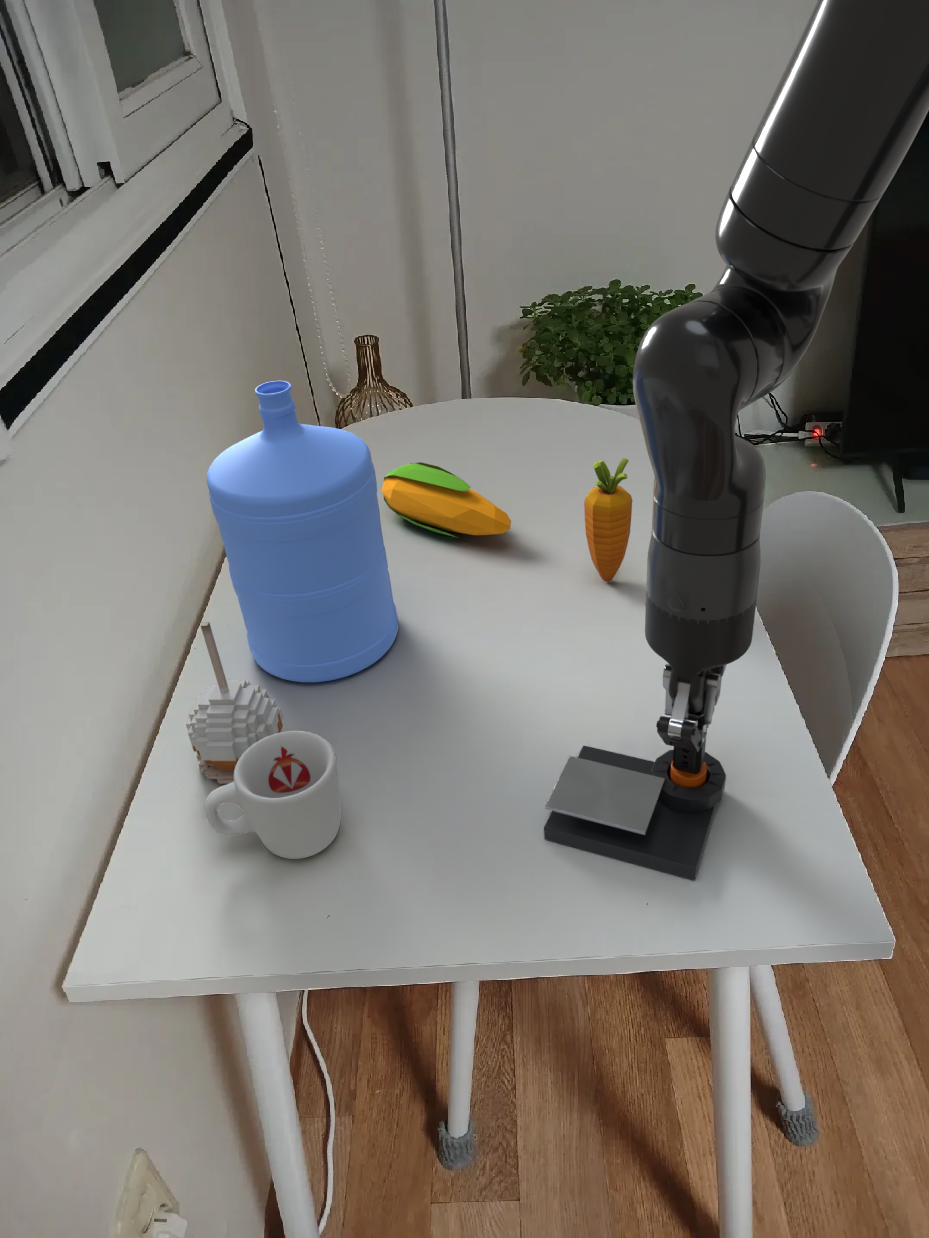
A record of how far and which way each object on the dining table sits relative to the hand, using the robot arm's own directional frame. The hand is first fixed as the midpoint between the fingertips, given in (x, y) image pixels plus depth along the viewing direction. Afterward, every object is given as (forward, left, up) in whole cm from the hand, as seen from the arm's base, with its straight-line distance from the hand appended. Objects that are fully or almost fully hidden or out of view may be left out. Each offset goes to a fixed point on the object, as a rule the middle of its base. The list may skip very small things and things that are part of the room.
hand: (688, 765), depth 76 cm
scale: (+3, +3, -4) cm, 6 cm away
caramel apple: (+38, +8, -4) cm, 39 cm away
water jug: (+40, -10, -4) cm, 42 cm away
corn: (+37, -35, -4) cm, 51 cm away
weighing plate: (+5, +4, -1) cm, 7 cm away
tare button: (0, 0, -2) cm, 2 cm away
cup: (+29, +15, -4) cm, 33 cm away
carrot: (+15, -29, -4) cm, 33 cm away
